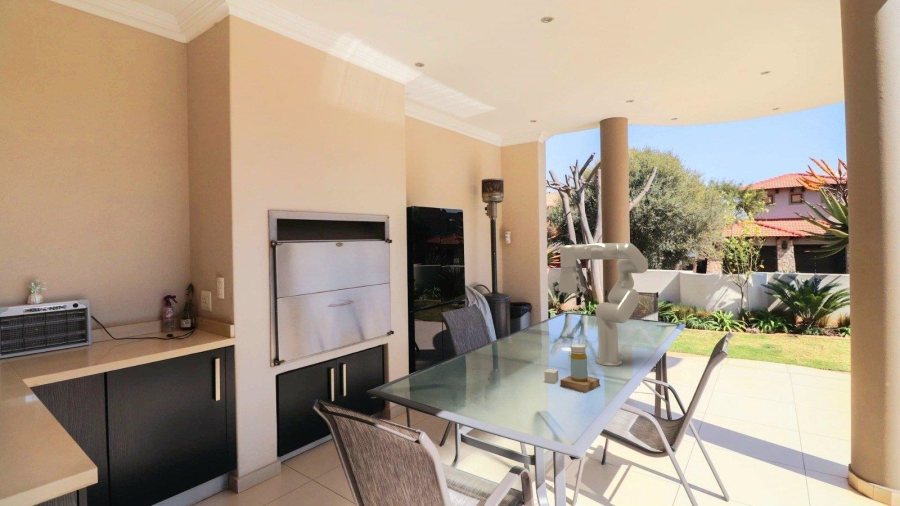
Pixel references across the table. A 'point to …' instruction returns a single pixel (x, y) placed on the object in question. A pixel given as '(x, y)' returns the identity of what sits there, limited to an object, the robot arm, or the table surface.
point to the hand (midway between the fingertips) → (570, 304)
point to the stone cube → (551, 376)
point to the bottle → (578, 362)
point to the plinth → (580, 384)
